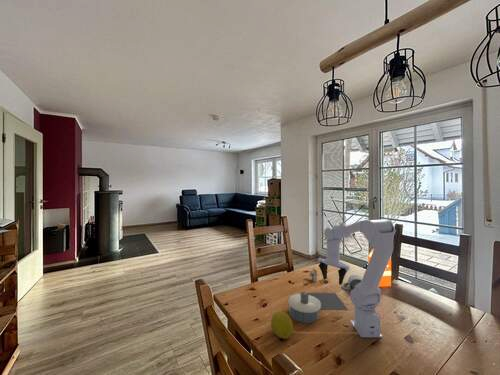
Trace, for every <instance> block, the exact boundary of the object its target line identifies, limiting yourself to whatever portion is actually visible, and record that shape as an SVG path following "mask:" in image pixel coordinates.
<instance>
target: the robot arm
mask: <svg viewBox="0 0 500 375" xmlns="http://www.w3.org/2000/svg"><path fill="white" fill-rule="evenodd" d="M356 232H360V233H361V234H362V235H363V237H365V239H366V240H367V241H368V244H370V246H372V247H373V249H374V250H373V253H372V255H371V258H370V261H369V263H368V262H367V266H366V268H365V272H364V274H363V277H362V278H361V279H362V281H361V282H360V283H359V284H357V285H356V286H355V288H354V289H353V290H350V292H349V296H350V297H349V298H350V301H351V303H352V304H353V306H354V317H353V318H354V319H353V320H350V321H349V322H350V323H351V324H352V327H354V328H355V330H356V331H357V333H358V335H359V336H360V337H361V338H383V334H382V333H381V320H380V317H379V316H378V313H377V311H376V308H377V307H378V306H377V305H378V304H379V303H380V302H381V294H382V289H380V288H381V287H378V285H379V283H380V281H381V278H382V276H383V274H384V271H385V269H386V267H387V264H388V262H389V259H390V258H391V257H392V254H393V252H394V250H395V249H394V247H395V246H394V236H395V234H396V232H397V229H396V228H395V226H394V223H393V222H392V221H391V220H390V219H388V218H382V219H365V220H359V221H356V222H354V223H350V224H349V223H345V222H340V223H339V225H336V224H335V225H333V227H326V228H325V229H324V230H323V235H324V238H325V239H326V258H321V257H318V258H317V264H318V267H319V269H320V270H321V274H322V279H323V280H327V278H328V266H331V267H334V268H338V270H337V272H338V285H340V286H341V285H343V284H344V283H343V281H344V278H345V276H346V274H347V273H348V272H349V271H350V265H347V264H346V263H343V262H340V254H341V253H340V252H341V251H340V250H341V246H340V245H341V242H342V239H345V238H349V237H351V236H352V234H353V233H356Z"/></svg>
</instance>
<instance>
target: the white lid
mask: <svg viewBox="0 0 500 375" xmlns="http://www.w3.org/2000/svg"><path fill="white" fill-rule="evenodd" d="M308 293H309V292H308V291H301V292H300V293H295V294H292V295H290V296H289V297H288V304H289V305H290V306H291V307H292V308H293V309H295V310H297V311H300V312H304V313H313V312H317V311H318V310H319V311H321V310H320V308H321V302H320V301H319V300H318V299H317V298H315V297H313V296H311V295H308ZM289 305H288V306H289Z"/></svg>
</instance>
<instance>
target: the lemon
mask: <svg viewBox="0 0 500 375" xmlns="http://www.w3.org/2000/svg"><path fill="white" fill-rule="evenodd" d="M270 323H271V329H272V331H273V333H274V334H275V335H276V336H277V338H280V339H283V340H286V339H288V338H290V337H291V335H292V334H293V329H294V323H293V320H292V318H291V316H290V315H288V313H286V312H284V311H282V310H279V311H275V312H274V313H273V315H272V318H271V322H270Z"/></svg>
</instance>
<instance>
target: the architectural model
mask: <svg viewBox="0 0 500 375" xmlns="http://www.w3.org/2000/svg"><path fill="white" fill-rule="evenodd" d="M306 274H308V276H309V277H310V278H311V279H312V281H313V282H314V283H316V282H318V270H317V269H316V268H315V267H314V266H313V267H312V268H311V271H309V272H307V273H306Z"/></svg>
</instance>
